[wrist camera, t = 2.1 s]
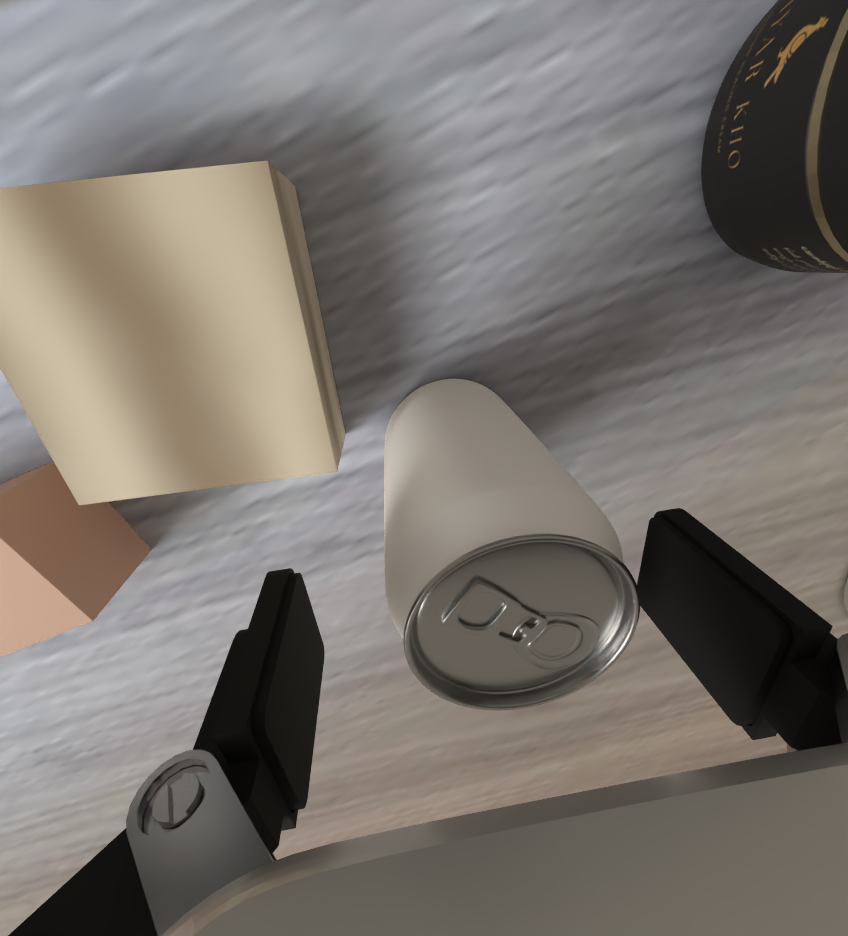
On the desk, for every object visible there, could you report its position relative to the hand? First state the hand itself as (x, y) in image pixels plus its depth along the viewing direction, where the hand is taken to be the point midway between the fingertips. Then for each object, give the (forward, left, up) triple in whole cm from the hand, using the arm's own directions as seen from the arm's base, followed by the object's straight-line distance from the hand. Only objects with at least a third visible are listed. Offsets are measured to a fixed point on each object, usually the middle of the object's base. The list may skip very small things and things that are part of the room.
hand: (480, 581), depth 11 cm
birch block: (+9, -6, -10) cm, 15 cm away
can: (-1, 0, -11) cm, 11 cm away
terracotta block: (+19, +2, -11) cm, 22 cm away
